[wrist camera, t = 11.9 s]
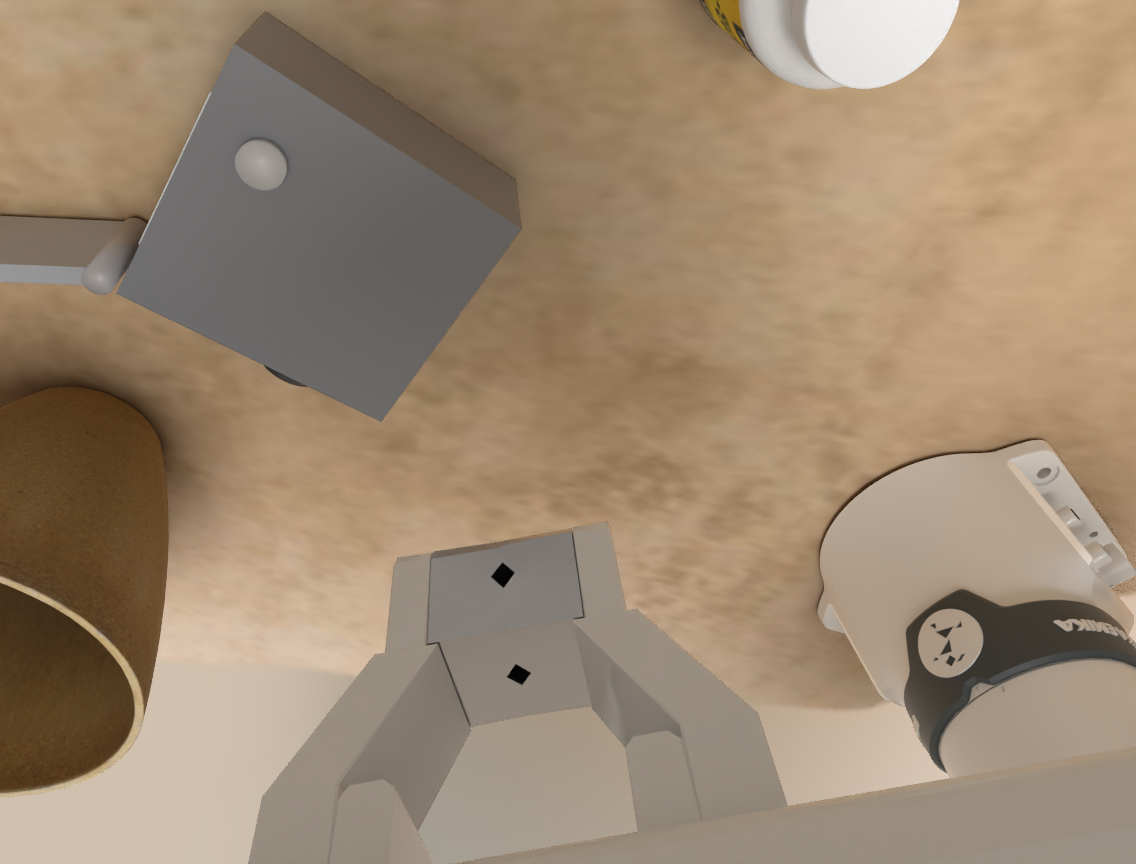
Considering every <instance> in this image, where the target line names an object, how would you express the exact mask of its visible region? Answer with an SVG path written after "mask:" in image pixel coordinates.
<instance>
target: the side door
mask: <svg viewBox="0 0 1136 864" xmlns="http://www.w3.org/2000/svg"><path fill="white" fill-rule="evenodd" d="M146 226H147V224H146V223H145V222H144V221H143V220H141V219H138V218H128V219H126V220H125V221H103V220H81V219H59V218H37V217H15V216H0V282H14V283H42V284H69V285H84V286H85V287H86V288H87V289H88V290H89V291H91V292H93V293H95V294H99V295H104V294H108V293H110V292H111V291H112V290H113V288H114V287H115V286H116V284H117V283H118V281H119V280H120V279H121V277H122V276H123V275H124V273H125V272H126V270H127V269H128V268H129V266H130V264H131V262H132V260H133V257H134V255H135V253H136V251H137V249H138V247H139V245H140V244H138V243H139V241H140V239H141V237H142V235H143V233H144V231H145V228H146Z"/></svg>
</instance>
